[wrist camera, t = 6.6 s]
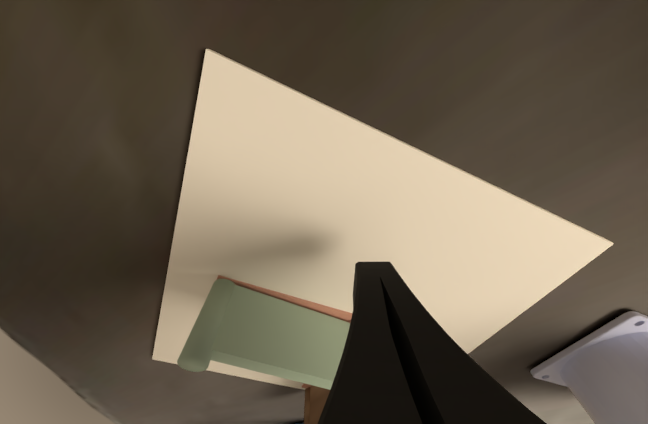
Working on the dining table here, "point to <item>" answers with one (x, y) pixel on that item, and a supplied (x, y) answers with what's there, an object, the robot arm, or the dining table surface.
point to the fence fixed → (314, 403)
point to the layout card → (345, 219)
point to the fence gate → (264, 336)
